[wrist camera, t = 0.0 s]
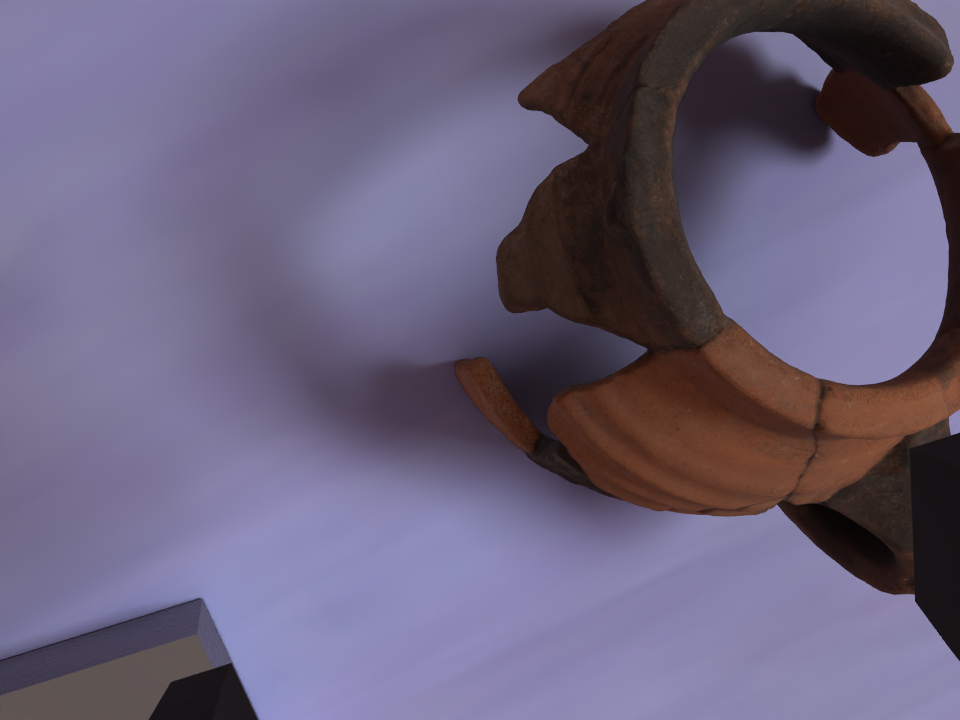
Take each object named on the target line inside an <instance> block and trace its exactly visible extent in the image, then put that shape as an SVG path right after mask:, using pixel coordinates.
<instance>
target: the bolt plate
mask: <svg viewBox="0 0 960 720" xmlns="http://www.w3.org/2000/svg"><path fill="white" fill-rule="evenodd" d="M229 663H232V661H231V658H230V656H229V654H228V652H227V650H226V648H225V646H224V643H223V641H222V639H221V637H220V635H219V633H218V631H217V628H216V626H215V624H214V622H213V620H212V618H211V616H210V613H209V611H208V609H207V607H206V605H205V603H204V601H203V598H202V599H199V600H196V601H193V602H189V603H186V604H183V605H180V606H177V607H173V608H170V609H167V610H164V611H160V612H157V613H154V614H151V615H148V616H144V617H141V618H138V619H135V620H131V621H128V622H125V623H122V624H119V625H115V626H112V627H109V628H106V629H102V630H99V631H96V632H93V633H90V634H86V635H83V636H80V637H77V638H73V639H70V640H67V641H64V642H61V643H57V644H54V645H51V646H48V647H44V648H41V649H38V650H35V651H32V652H28V653H25V654H22V655H19V656H15V657H12V658H9V659H6V660H3V661H0V720H149V718H150V716H151V714H152V713H153V711H154V709H155V708H156V706H157V704H158V703H159V701H160V699H161V698H162V696H163V694H164V693H165V691H166V689H167V688H168V686H169V684H170V683H171V682H172V681H175V680H179V679H182V678H185V677H188V676H191V675H194V674H198V673H201V672H204V671H207V670H210V669H213V668H217V667H220V666H223V665H226V664H229ZM232 665H233V663H232ZM233 667H234V665H233ZM234 669H235V667H234ZM235 671H236V669H235ZM236 674H237V676H238V673H237V671H236ZM238 678H239V676H238ZM239 680H240V678H239ZM240 682H241V680H240ZM241 684H242V682H241ZM242 686H243V684H242ZM243 689H244V686H243ZM244 691H245V689H244ZM245 693H246V691H245ZM246 695H247V693H246ZM247 697H248V695H247ZM248 699H249V697H248ZM249 702H250V704H251V701H250V699H249ZM251 706H252V704H251ZM252 708H253V706H252ZM253 710H254V708H253ZM254 712H255V710H254ZM255 714H256V712H255ZM256 717H257V719H258V716H257V714H256ZM258 720H259V719H258Z"/></svg>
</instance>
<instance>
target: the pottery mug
mask: <svg viewBox="0 0 960 720" xmlns="http://www.w3.org/2000/svg"><path fill="white" fill-rule="evenodd" d="M751 32H786V33H790V34H793V35H795V36H796V37H798V38H799V39H800V40H801V41H803V42H804V43H805V44H806V45H807V46H808V47H809V48H810V49H812V50H813V51H815V52H816V53H817V54H818V55H819V56H820V57H821V58H822V60H823V61H824V62H826V63H827V64H828V65H829V66H830V67H832V68H833V69H832V70H831V71H830V73H829V74H828V76H827V78H826V80H825V82H824V84H823V88H822V90H821V92H820V94H819V95H818V97H817V100H816V104H815V109H816V111H817V112H818V114H819V116H820V118H821V119H822V120H823V121H824V122H825V123H826V124H827V125H828V126H829V127H831V128H832V129H833V130H834V131H835V132H836V133H837V134H838V135H839V136H840V137H841V138H843V139H844V140H845V141H847V142H848V143H850V144H851V145H852V146H853V147H854V148H856V149H857V150H859V151H860V152H862V153H864V154H866V155H868V156H872V157H876V156H880V155H883V154H887V153H889V152H890V151H892V150H893V149H894V148H895V147H896V146H897V145H898V144H899V143H900V142H917V144H918V146H919V148H920V150H921V154H922V155H923V157H924V159H925V160H926V162H927V164H928V167H929V169H930V171H931V174H932V176H933V179H934V182H935V185H936V188H937V192H938V195H939V198H940V202H941V206H942V210H943V215H944V219H945V222H946V235H947V239H948V243H949V267H948V290H947V297H946V305H945V310H944V315H943V319H942V322H941V325H940V327H939V330H938V332H937V334H936V337H935V339H934V341H933V343H932V344H931V346H930V347H929V349H928V350H927V351H926V352H925V353H924V354H923V356H922V357H921V358H920V359H919V360H918V361H917V362H916V363H914V364H913V365H912V366H911V367H910V368H909V369H907V370H906V371H905V372H903V373H902V374H900V375H899V376H897V377H895V378H893V379H891V380H888V381H885V382H881V383H877V384H868V385H846V384H841V383H836V382H833V381H829V380H825V379H818V378H815V377H814V376H812V375H810V374H808V373H805V372H803V371H801V370H799V369H797V368H795V367H792V366H790V365H789V364H787V363H785V362H784V361H782V360H781V359H779V358H778V357H776V356H775V355H773V354H772V353H771V352H769V351H768V350H767V349H766V348H764V347H763V346H762V345H761V344H760V343H758V342H757V341H756V340H755V339H754V338H753V337H751V336H750V335H749V334H748V333H747V332H746V331H745V330H744V329H743V328H742V327H741V326H739V325H738V324H737V323H736V322H735V321H733V320H732V319H730V318H729V317H727V316H726V315H724V313H723V312H722V309H721V307H720V305H719V303H718V301H717V299H716V297H715V295H714V293H713V292H712V290H711V289H710V287H709V285H708V284H707V282H706V281H705V279H704V277H703V275H702V273H701V271H700V269H699V267H698V266H697V264H696V262H695V260H694V257H693V255H692V253H691V251H690V248H689V246H688V243H687V240H686V237H685V234H684V231H683V227H682V223H681V219H680V214H679V209H678V203H677V196H676V190H675V184H674V178H673V139H674V134H675V128H676V111H677V108H678V105H679V103H680V102H681V100H682V97H683V95H684V93H685V91H686V89H687V86H688V84H689V82H690V80H691V78H692V76H693V75H694V74H695V72H696V71H697V70H698V69H699V68H700V66H701V65H702V63H703V61H704V60H705V58H706V57H707V55H708V54H709V53H710V52H711V51H712V50H714V49H715V48H716V47H718V46H720V45H721V44H723V43H725V42H726V41H727V40H729V39H731V38H734V37H736V36H739V35H742V34H746V33H751ZM953 64H954V59H953V56H952V54H951V51H950V48H949V44H948V40H947V37H946V34H945V31H944V29H943V28H942V27H941V25H940V24H939V23H938V22H937V20H936V19H935V18H933V17H932V16H931V15H929V14H928V13H926V12H925V11H923V10H921V9H920V8H919V6H918V5H917V4H916V3H913V2H911V1H910V0H646V1H645V2H643V3H641V4H639V5H637V6H635V7H633V8H632V9H630V10H629V11H627V12H626V13H625V14H624V15H622V16H621V17H620V18H619V19H617V20H616V21H614V22H612V23H611V24H610V25H609V26H608V27H607V28H606V29H605V30H604V31H603V32H601V33H600V34H598V35H597V36H596V37H594V38H593V39H591V40H590V41H588V42H587V43H586V44H584V45H583V46H581V47H580V48H579V49H577V50H576V51H574V52H572V53H571V54H570V55H569V56H568V57H566V58H565V59H563V60H562V61H560V62H559V63H557V64H554V65H552V66H551V67H549V68H548V69H547V70H546V71H544V72H543V73H542V74H541V75H539V76H538V77H537V78H536V79H535V80H534V81H533V82H531V83H530V84H529V85H528V86H527V87H526V88H525V89H524V90H522V91H521V92H520V94H519V95H518V102H519V104H520V105H521V106H522V107H524V108H525V109H527V110H533V111H535V110H537V111H543V112H544V113H546V114H549V115H551V116H553V118H554V119H555V120H556V121H558V122H559V123H560V124H562V125H563V126H565V127H566V128H568V129H569V130H571V131H572V132H573V133H574V134H575V135H577V136H578V137H580V138H581V139H582V140H583V141H584V142H585V143H587V144H588V145H589V146H588V148H587V149H586V150H585V151H584V152H583V153H581V154H579V155H577V156H576V157H574V158H572V159H569V160H567V161H566V162H564V163H562V164H560V165H558V166H556V167H555V168H554V169H553V170H552V171H551V173H550V174H549V176H548V177H547V178H546V179H545V180H544V181H543V182H542V183H541V184H539V186H538V187H537V188H536V189H535V191H534V193H533V194H532V196H531V198H530V200H529V202H528V205H527V207H526V210H525V213H524V215H523V218H522V220H521V222H520V224H519V225H518V226H517V227H516V228H515V229H514V230H513V231H512V232H510V233H509V234H508V235H507V236H506V237H505V238H504V239H503V241H502V242H501V244H500V245H499V247H498V250H497V256H496V263H497V275H498V288H499V295H500V298H501V301H502V303H503V305H504V307H505V308H506V309H507V310H508V311H510V312H512V313H522V312H526V311H539V310H542V309H545V308H549V309H550V310H552V311H553V312H555V313H556V314H558V315H559V316H561V317H564V318H566V319H568V320H570V321H573V322H576V323H581V324H585V325H590V326H594V327H598V328H601V329H603V330H605V331H607V332H610V333H613V334H615V335H617V336H619V337H622V338H626V339H629V340H631V341H633V342H634V343H636V344H639V345H641V346H643V347H645V348H647V349H648V350H647V351H646V352H645V353H644V354H643V355H642V356H641V357H639V358H638V359H637V360H636V361H634V362H633V363H631V364H629V365H628V366H626V367H624V368H622V369H621V370H619V371H617V372H615V373H613V374H611V375H609V376H607V377H605V378H603V379H600V380H597V381H594V382H590V383H585V384H579V385H575V386H572V387H568V388H566V389H564V390H562V391H560V392H559V393H557V394H556V395H555V396H554V397H553V402H552V403H551V404H550V406H549V408H548V410H547V423H548V427H549V428H550V430H551V431H552V433H554V434H555V435H556V436H557V438H558V439H559V441H557V440H555V439H552V438H550V437H548V436H546V435H545V434H543V433H542V432H541V431H540V430H539V429H538V428H536V426H535V425H534V424H533V423H532V422H531V420H530V419H529V418H528V416H527V415H526V414H525V413H524V412H523V411H522V409H521V408H520V407H519V405H518V404H517V403H516V401H515V400H514V398H513V397H512V396H511V394H510V393H509V391H508V389H507V388H506V386H505V385H504V384H503V382H502V380H501V379H500V377H499V375H498V374H497V372H496V370H495V369H494V367H493V365H492V364H491V363H490V361H489V360H487V359H486V358H483V357H479V358H476V359H473V360H471V359H462V360H460V361H459V362H457V363H456V365H455V372H456V376H457V378H458V380H459V382H460V383H461V385H462V387H463V388H464V390H465V392H466V393H467V395H468V396H469V398H470V399H471V400H472V402H473V403H474V404H475V406H476V407H477V408H478V409H479V411H480V412H481V413H482V414H483V415H484V416H485V417H486V418H487V419H488V420H489V421H490V422H491V423H492V424H493V425H494V426H495V427H496V428H497V429H499V430H500V431H501V432H502V433H503V434H504V435H505V436H506V438H507V439H508V440H509V441H510V442H511V443H513V444H514V445H515V446H517V447H518V448H519V449H521V450H523V451H524V452H525V454H526V455H527V457H528V458H530V459H531V460H532V461H533V462H535V463H536V464H538V465H539V466H541V467H543V468H545V469H547V470H549V471H551V472H553V473H556V474H558V475H559V476H561V477H562V478H564V479H566V480H568V481H569V482H571V483H574V484H578V485H582V486H585V487H588V488H589V489H592V490H594V491H596V492H599V493H601V494H603V495H606V496H610V497H613V498H617V499H620V500H624V501H627V502H630V503H632V504H635V505H638V506H642V507H645V508H649V509H652V510H655V511H665V510H667V511H672V512H678V513H685V514H697V515H711V516H743V515H757V514H760V513H763V512H766V511H767V510H768V509H771V508H773V507H774V506H775V505H776V504H777V505H778V506H779V507H780V508H781V510H782V511H783V512H784V513H785V515H786V516H787V517H788V518H789V519H790V520H791V521H792V522H793V523H794V524H796V526H797V527H798V528H799V529H800V530H801V531H802V532H803V533H804V534H805V535H806V536H807V537H808V538H809V539H810V540H811V541H812V542H813V543H814V544H815V545H816V546H817V547H819V548H820V549H821V550H822V551H823V552H825V553H826V554H827V555H828V556H830V557H831V558H832V559H833V560H835V561H836V562H837V563H839V564H840V565H841V566H842V567H843V568H844V569H846V570H847V571H849V572H850V573H851V574H853V575H854V576H855V577H857V578H859V579H861V580H863V581H864V582H866V583H867V584H869V585H871V586H872V587H874V588H876V589H878V590H880V591H882V592H885V593H890V594H894V595H898V594H915V583H914V556H913V530H912V504H911V477H910V451H909V449H910V448H913V447H917V446H920V445H923V444H926V443H929V442H932V441H936V440H939V439H942V438H945V437H948V436H951V433H950V428H949V416H951V415H952V414H953V413H954V412H956V411H958V410H959V409H960V133H954V132H953V131H952V130H951V128H950V126H949V125H948V124H947V122H946V120H945V118H944V116H943V114H942V112H941V111H940V109H939V108H938V106H937V105H936V103H935V102H934V101H933V99H932V98H931V97H930V96H929V95H928V93H927V92H926V91H925V90H924V89H923V88H922V87H921V86H920V85H921V84H926V83H929V82H933V81H935V80H938V79H941V78H943V77H945V76H946V75H947V74H948V73H949V72H950V71H951V69H952V67H953Z"/></svg>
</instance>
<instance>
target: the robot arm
mask: <svg viewBox="0 0 960 720" xmlns="http://www.w3.org/2000/svg"><path fill="white" fill-rule="evenodd" d="M909 451H910V477H911V504H912V530H913V556H914V583H915V602H916V603H917V604H918V606H919V607H920V609H921V610H922V611H923V613H924V614H925V615H926V617H927V618H928V619H929V621H930V622H931V624H932V625H933V626H934V628H935V629H936V630H937V632H938V633H939V635H940V636H941V637H942V639H943V640H944V641H945V643H946V644H947V645H948V647H949V648H950V649H951V651H952V652H953V653H954V654H955V656H956V657H957V658H958V660H959V661H960V433H958V434H955V435H951V436H948V437H945V438H942V439H939V440H936V441H932V442H929V443H926V444H923V445H920V446H917V447H913V448H910V449H909ZM149 720H258V719H257V717H256V714H255V712H254V710H253V708H252V706H251V704H250V702H249V699H248V697H247V695H246V693H245V691H244V689H243V686H242V684H241V682H240V680H239V678H238V676H237V674H236V671H235V669H234V667H233V665H232V663H229V664H226V665H223V666H220V667H217V668H213V669H210V670H207V671H204V672H201V673H198V674H194V675H191V676H188V677H185V678H182V679H179V680H175V681H172V682H171V683H170V684H169V686H168V688H167V689H166V691H165V693H164V694H163V696H162V698H161V699H160V701H159V703H158V704H157V706H156V708H155V709H154V711H153V713H152V714H151V716H150V718H149Z"/></svg>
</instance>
